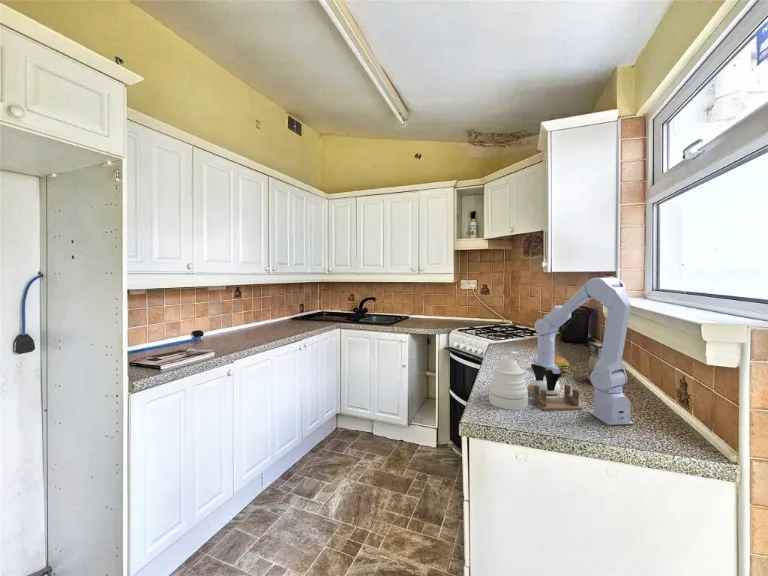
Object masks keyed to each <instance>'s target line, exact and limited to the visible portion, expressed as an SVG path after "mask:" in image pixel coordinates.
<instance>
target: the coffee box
mask: <svg viewBox="0 0 768 576" xmlns="http://www.w3.org/2000/svg"><path fill="white" fill-rule="evenodd" d="M602 346H603V341H602V342H601V341H600V342H598V341H597V342H596V341H595V342H594V341H590V342H588V363H587V364H588V369H587V379H588V381H590V382H591V380H590V375H591V373H592V372H593V371H594V369H595V365H596V363H597V362H598V361H599V359H600V358H601V352H602Z"/></svg>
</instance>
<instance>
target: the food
mask: <svg viewBox="0 0 768 576" xmlns="http://www.w3.org/2000/svg"><path fill="white" fill-rule="evenodd" d="M554 363H555V364H556V366H557V367H558V368H560V371H559V372H560V373H561V376H560V377H565V376H567V375H568V372H569V369H570V370H571V365H572V364H571V363H570V362H569V361H567V359H565V358H564V357H563V356H560V355H557V354H554ZM545 371H549V370H548V369H546V370H545Z"/></svg>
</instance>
